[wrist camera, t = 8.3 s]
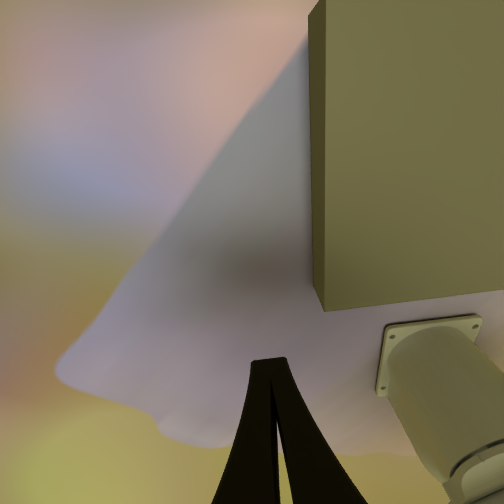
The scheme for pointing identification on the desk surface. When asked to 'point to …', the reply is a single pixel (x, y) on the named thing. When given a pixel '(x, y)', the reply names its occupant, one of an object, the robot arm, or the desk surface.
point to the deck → (406, 149)
